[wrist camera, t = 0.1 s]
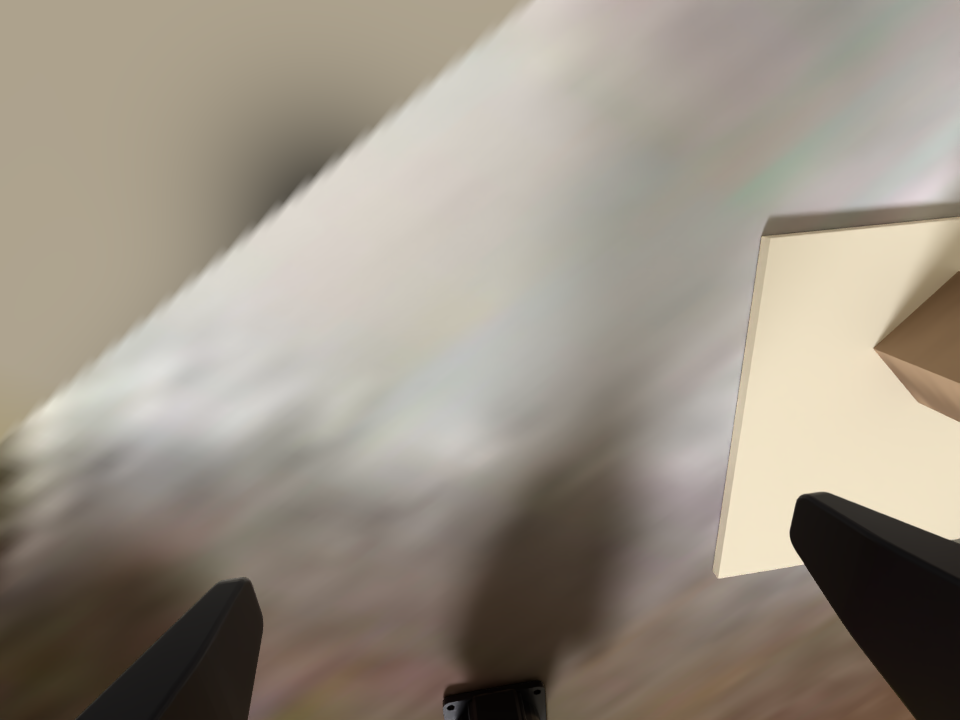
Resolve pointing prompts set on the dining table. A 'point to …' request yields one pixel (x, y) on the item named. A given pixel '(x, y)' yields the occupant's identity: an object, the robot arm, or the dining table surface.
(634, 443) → the dining table surface
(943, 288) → the walnut block
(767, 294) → the placemat
